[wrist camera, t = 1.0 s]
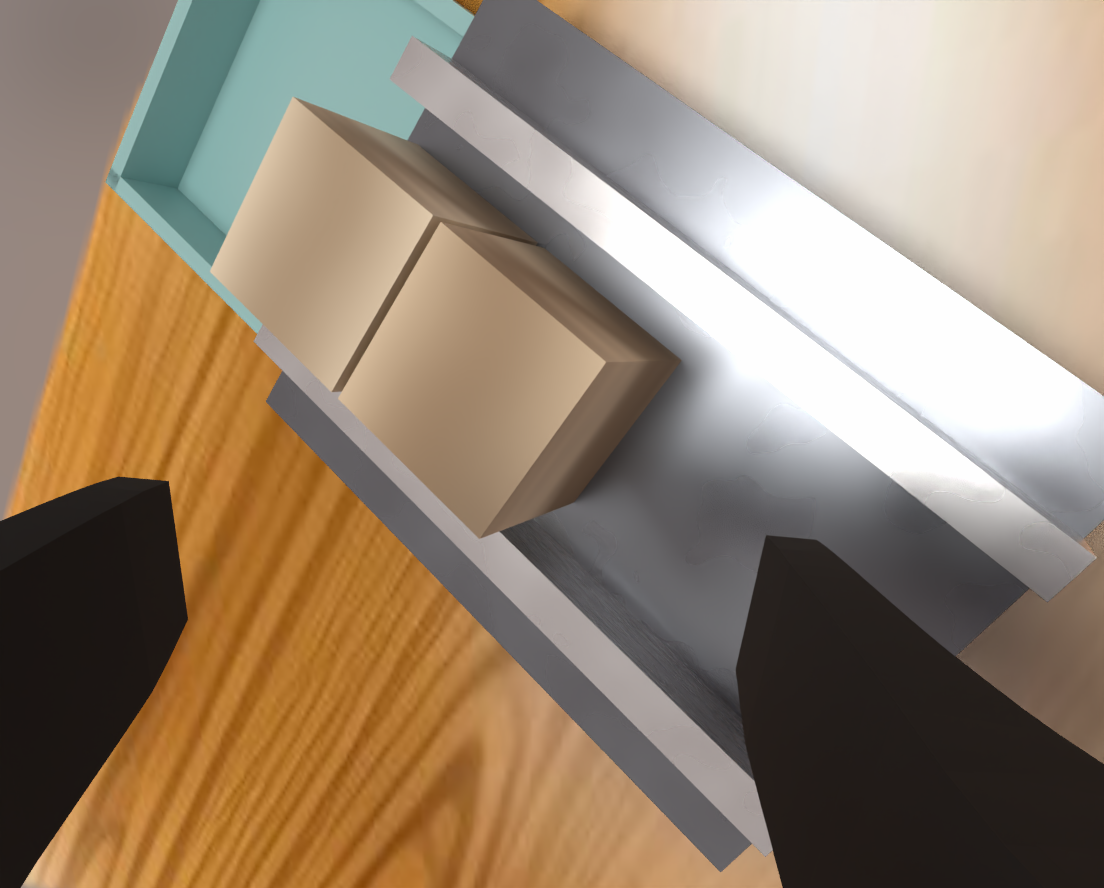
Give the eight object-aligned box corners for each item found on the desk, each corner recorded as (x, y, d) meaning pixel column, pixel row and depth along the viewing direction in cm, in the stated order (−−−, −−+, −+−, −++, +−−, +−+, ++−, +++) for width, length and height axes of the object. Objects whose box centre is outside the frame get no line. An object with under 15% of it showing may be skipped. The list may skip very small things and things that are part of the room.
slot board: (1143, 433, 16) (1205, 460, 12) (752, 803, 20) (700, 915, 16) (558, 22, 20) (460, -58, 16) (340, 396, 25) (221, 404, 21)
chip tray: (528, 53, 21) (477, 18, 19) (349, 364, 24) (288, 365, 22) (308, -107, 23) (240, -155, 21) (176, 196, 27) (105, 182, 25)
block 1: (537, 242, 18) (432, 214, 14) (446, 385, 19) (331, 392, 16) (417, 144, 19) (293, 96, 16) (340, 285, 21) (209, 271, 17)
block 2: (681, 360, 17) (606, 362, 13) (573, 502, 18) (479, 538, 15) (544, 247, 18) (441, 221, 14) (452, 390, 19) (337, 398, 16)
